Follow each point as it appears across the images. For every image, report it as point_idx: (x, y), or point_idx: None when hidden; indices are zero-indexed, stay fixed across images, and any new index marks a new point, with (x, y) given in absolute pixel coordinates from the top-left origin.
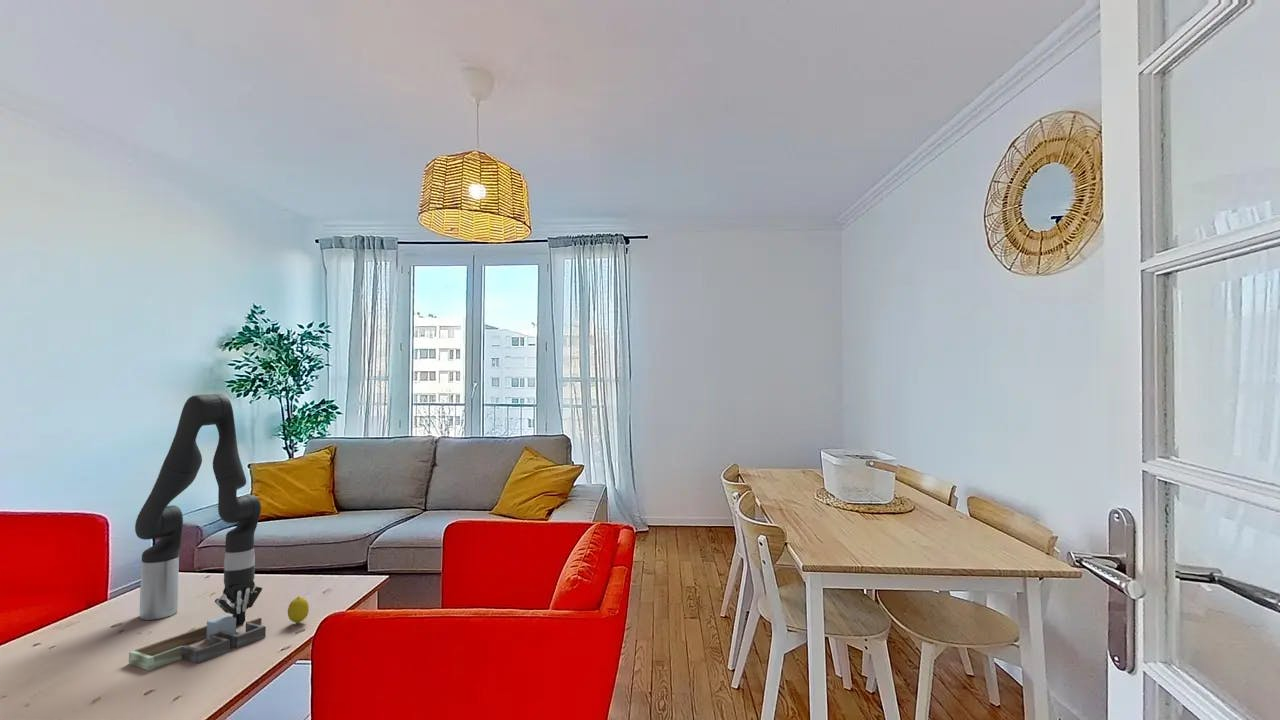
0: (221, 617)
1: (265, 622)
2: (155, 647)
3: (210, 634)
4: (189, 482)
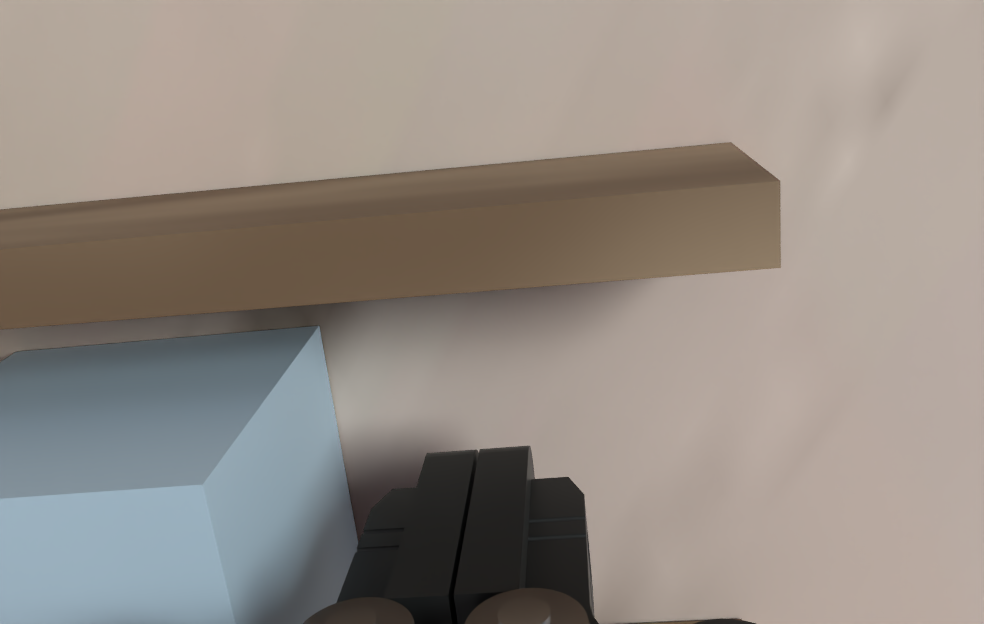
0: (85, 561)
1: (973, 476)
2: None
3: None
4: None
